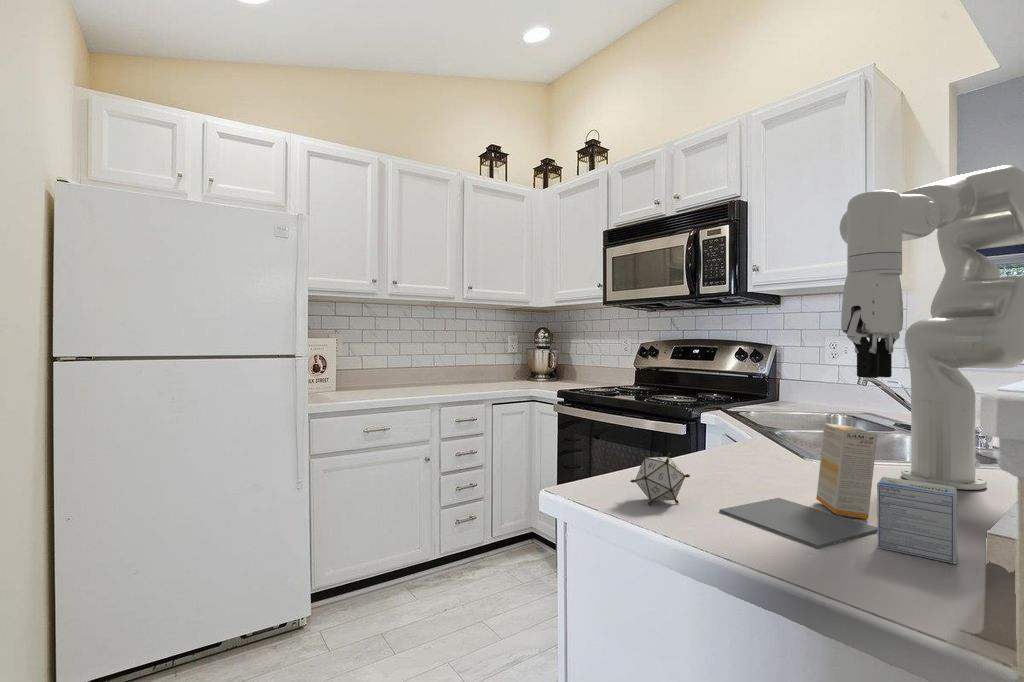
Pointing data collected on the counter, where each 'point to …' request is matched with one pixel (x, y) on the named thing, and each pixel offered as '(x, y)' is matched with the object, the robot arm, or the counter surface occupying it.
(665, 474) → the game die
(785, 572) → the counter surface
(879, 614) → the counter surface
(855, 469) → the supplement box
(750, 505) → the mat
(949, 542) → the medicine box
